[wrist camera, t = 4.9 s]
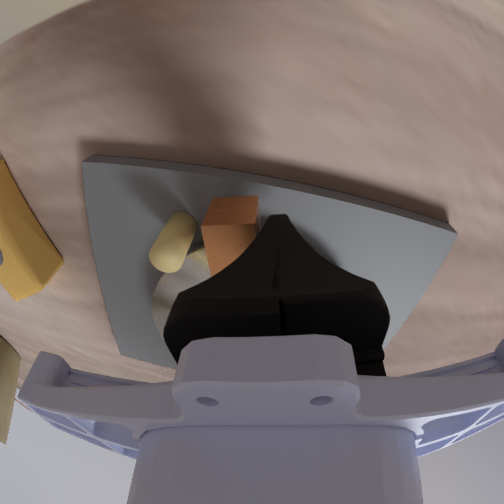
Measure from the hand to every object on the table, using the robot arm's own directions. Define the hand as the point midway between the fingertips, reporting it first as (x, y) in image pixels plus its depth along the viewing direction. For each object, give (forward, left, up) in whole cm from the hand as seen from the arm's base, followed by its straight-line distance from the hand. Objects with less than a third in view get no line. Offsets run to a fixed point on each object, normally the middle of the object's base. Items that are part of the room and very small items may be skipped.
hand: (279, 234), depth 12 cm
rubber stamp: (-5, +20, -4) cm, 21 cm away
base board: (-8, 0, -3) cm, 8 cm away
